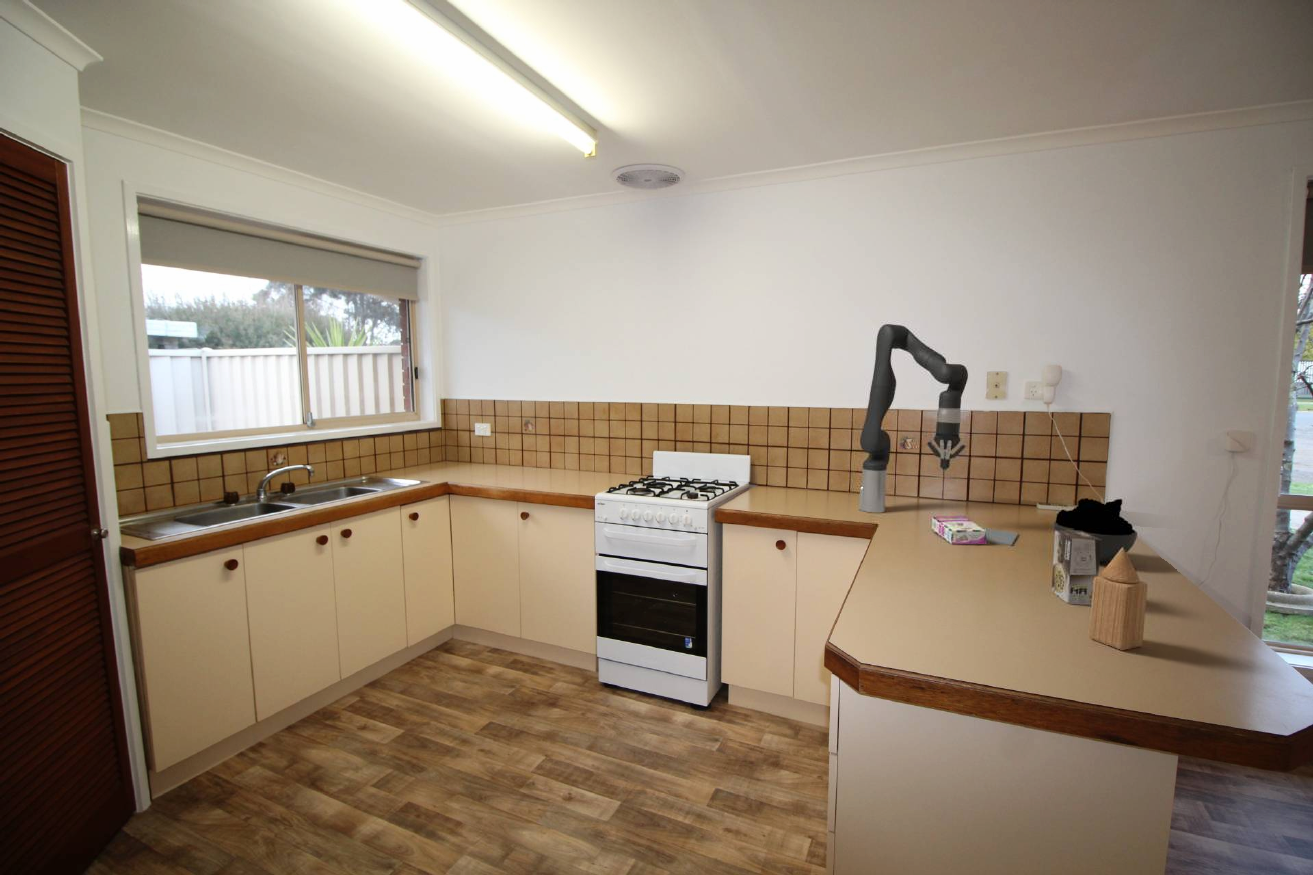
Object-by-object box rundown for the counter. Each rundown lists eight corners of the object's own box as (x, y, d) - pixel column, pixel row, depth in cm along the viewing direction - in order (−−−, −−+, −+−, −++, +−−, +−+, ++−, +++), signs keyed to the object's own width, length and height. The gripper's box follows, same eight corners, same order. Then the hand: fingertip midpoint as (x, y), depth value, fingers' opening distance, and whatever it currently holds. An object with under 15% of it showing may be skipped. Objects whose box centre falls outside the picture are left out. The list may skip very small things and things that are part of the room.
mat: (957, 537, 201) (957, 535, 201) (967, 527, 216) (967, 525, 215) (1011, 545, 192) (1011, 543, 192) (1018, 534, 206) (1018, 532, 206)
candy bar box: (931, 530, 209) (950, 545, 193) (931, 516, 208) (951, 530, 192) (964, 529, 208) (986, 544, 192) (964, 515, 207) (986, 529, 191)
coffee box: (1097, 606, 140) (1102, 539, 138) (1067, 604, 141) (1072, 538, 140) (1078, 592, 149) (1083, 530, 147) (1050, 590, 150) (1054, 528, 149)
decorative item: (1087, 638, 122) (1094, 543, 120) (1108, 633, 125) (1116, 540, 123) (1122, 652, 116) (1130, 552, 114) (1143, 646, 119) (1152, 549, 117)
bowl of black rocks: (1055, 564, 172) (1060, 500, 171) (1047, 547, 190) (1051, 489, 188) (1142, 574, 163) (1148, 507, 161) (1125, 556, 181) (1130, 495, 179)
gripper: (925, 420, 210) (922, 468, 212) (967, 422, 202) (963, 472, 204) (930, 419, 216) (927, 466, 218) (971, 421, 208) (967, 470, 210)
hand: (944, 469), depth 211 cm, fingers closed
